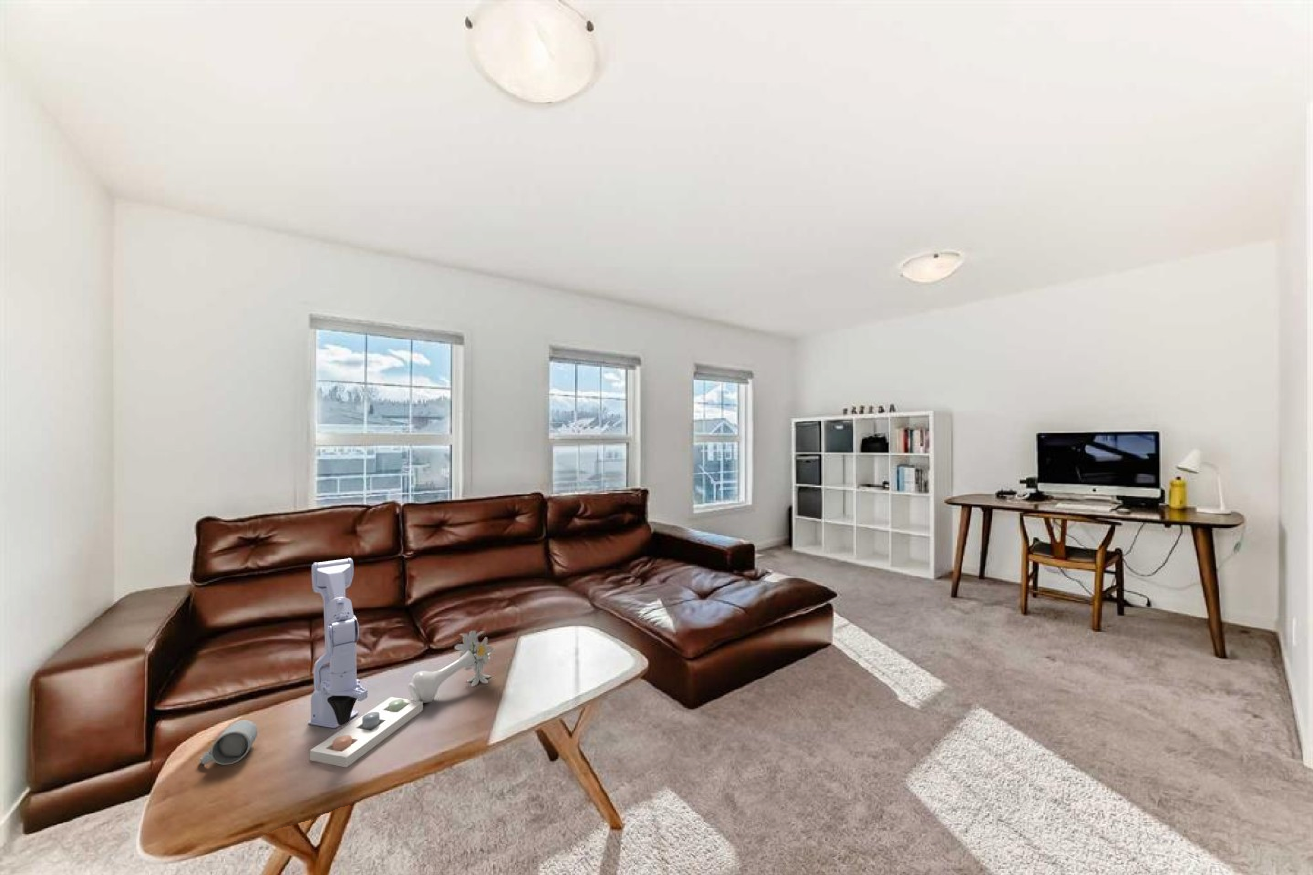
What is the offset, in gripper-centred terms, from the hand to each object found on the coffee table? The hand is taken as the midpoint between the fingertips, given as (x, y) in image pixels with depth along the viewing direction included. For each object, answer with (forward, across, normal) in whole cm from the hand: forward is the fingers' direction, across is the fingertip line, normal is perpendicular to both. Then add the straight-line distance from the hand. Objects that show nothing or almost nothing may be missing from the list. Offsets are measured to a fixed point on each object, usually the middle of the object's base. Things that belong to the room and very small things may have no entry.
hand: (343, 722), depth 127 cm
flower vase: (+8, -3, -34) cm, 35 cm away
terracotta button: (+7, 0, 0) cm, 7 cm away
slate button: (+6, +1, -8) cm, 10 cm away
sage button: (+7, +2, -17) cm, 19 cm away
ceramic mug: (+8, +25, +12) cm, 29 cm away
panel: (+8, +1, -8) cm, 11 cm away
